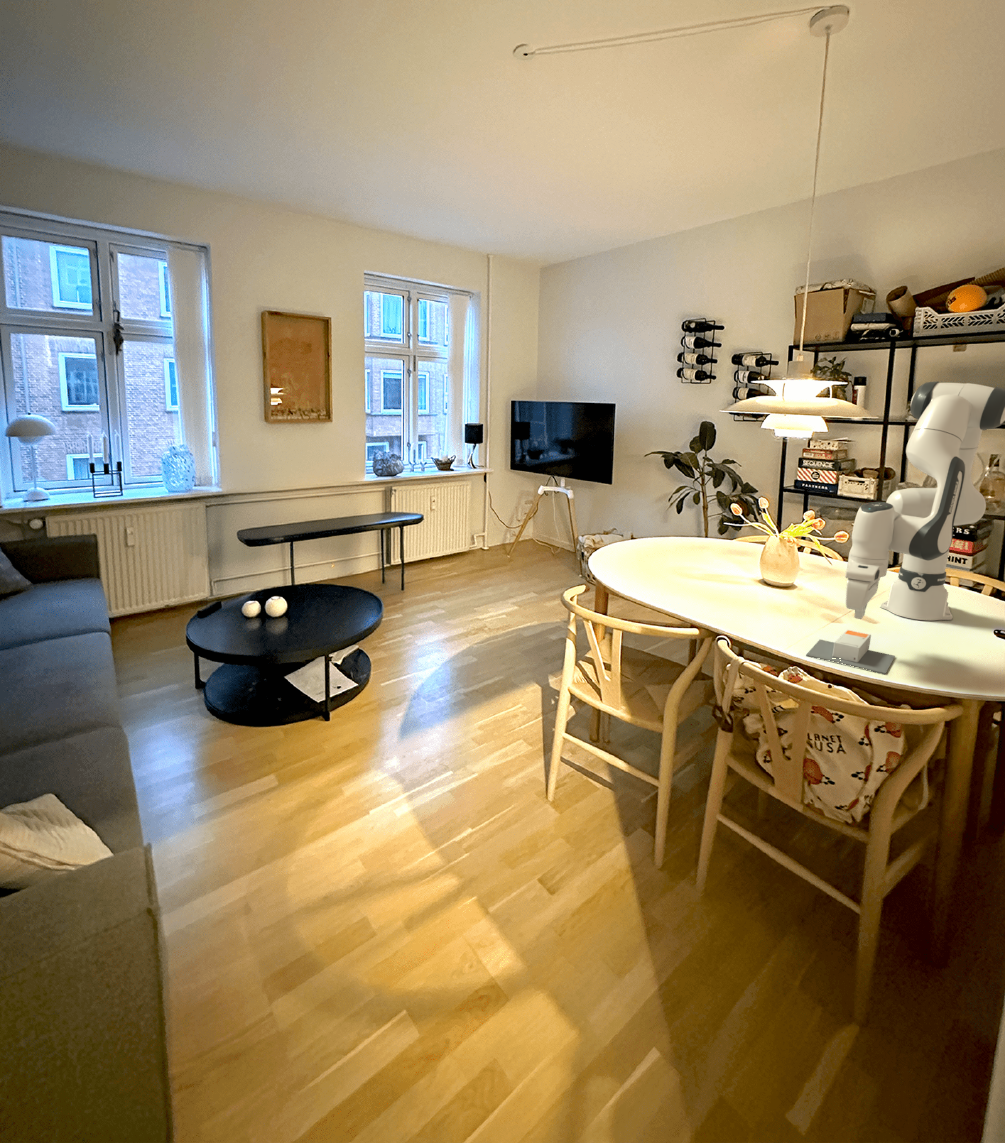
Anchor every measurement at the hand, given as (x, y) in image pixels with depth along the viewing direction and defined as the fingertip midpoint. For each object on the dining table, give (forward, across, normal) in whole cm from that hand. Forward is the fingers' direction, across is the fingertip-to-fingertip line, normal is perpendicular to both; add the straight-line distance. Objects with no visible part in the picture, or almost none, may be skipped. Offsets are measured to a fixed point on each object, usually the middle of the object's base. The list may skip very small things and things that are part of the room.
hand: (859, 617), depth 162 cm
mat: (+10, +4, 0) cm, 10 cm away
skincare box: (+7, -4, 0) cm, 8 cm away
